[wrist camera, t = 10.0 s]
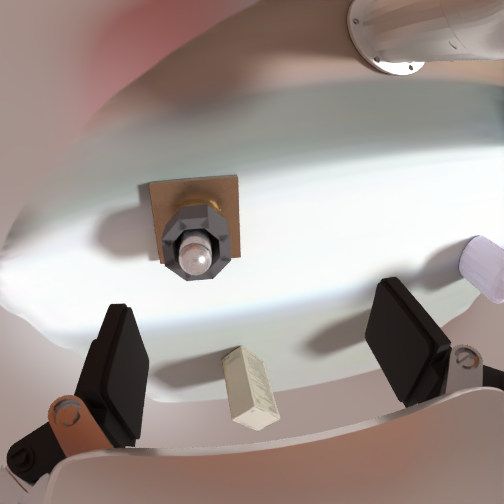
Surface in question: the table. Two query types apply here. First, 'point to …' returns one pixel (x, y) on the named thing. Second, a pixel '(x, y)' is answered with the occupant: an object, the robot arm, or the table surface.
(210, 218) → the ring
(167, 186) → the post stand
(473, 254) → the soap bottle
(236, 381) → the skincare box
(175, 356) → the table surface
